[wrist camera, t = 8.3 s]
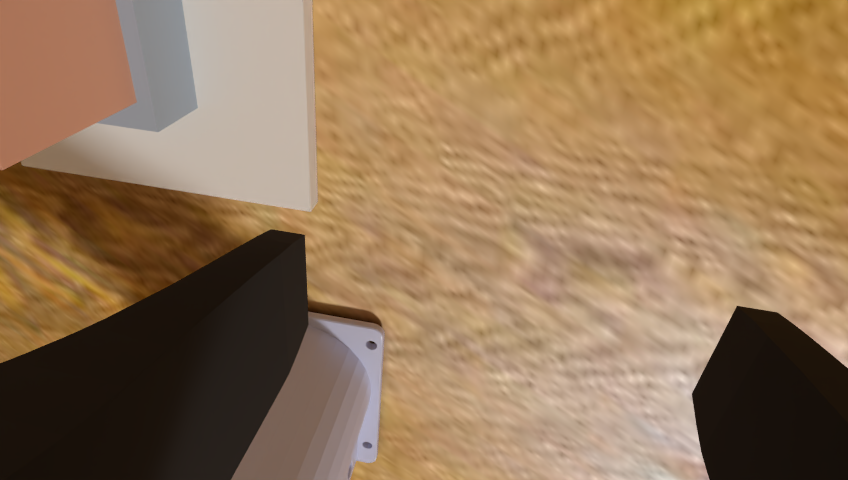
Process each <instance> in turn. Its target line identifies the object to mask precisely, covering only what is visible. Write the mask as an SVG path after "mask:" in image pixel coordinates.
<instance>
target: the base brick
mask: <svg viewBox="0 0 848 480" xmlns="http://www.w3.org/2000/svg"><path fill="white" fill-rule="evenodd" d="M115 1H116V6H117V10H118V15H119V20H120V25H121V29H122V34H123V39H124V44H125V48H126V53H127V58H128V62H129V67H130V72H131V77H132V81H133V86H134V91H135V96H136V100H137V103H135V104H133V105H131V106H129V107H127V108H125V109H123V110H121V111H119V112H117V113H115V114H113V115H111V116H109V117H107V118H105V119H103V120H101V121H99V122H97V123H99V124H106V125H113V126H119V127H126V128H133V129H140V130H146V131H153V132H160V131H161V130H163V129H164V128H166V127H168V126H169V125H171V124H173V123H174V122H176V121H177V120H179V119H181V118H182V117H184V116H186V115H187V114H189V113H190V112H192V111H194V110H195V109H197V108H198V105H197V99H196V92H195V85H194V78H193V72H192V65H191V58H190V52H189V45H188V38H187V31H186V25H185V18H184V11H183V5H182V0H115Z"/></svg>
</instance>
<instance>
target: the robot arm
mask: <svg viewBox="0 0 848 480" xmlns="http://www.w3.org/2000/svg"><path fill="white" fill-rule="evenodd" d="M384 335H385V333H384V330H383V328H382V327H381V326H379V325H378V324H375V323H370V322H364V321H359V320H353V319H347V318H342V317H336V316H330V315H325V314H319V313H314V312H308V299H307V277H306V254H305V235H302V234H296V233H290V232H284V231H278V230H272V229H271V230H269V231H267V232H265V233H263V234H261V235H259V236H257V237H255V238H253V239H252V240H250V241H248V242H246V243H245V244H243V245H241V246H239V247H238V248H236V249H234V250H232V251H231V252H229V253H227V254H225V255H224V256H222V257H220V258H218V259H217V260H215V261H213V262H211V263H210V264H208V265H206V266H204V267H202V268H201V269H199V270H197V271H195V272H194V273H192V274H190V275H188V276H186V277H185V278H183V279H181V280H179V281H178V282H176V283H174V284H172V285H170V286H168V287H167V288H165V289H163V290H161V291H159V292H157V293H155V294H153V295H151V296H149V297H147V298H145V299H143V300H141V301H139V302H137V303H135V304H133V305H131V306H129V307H127V308H125V309H123V310H121V311H119V312H118V313H116V314H114V315H112V316H110V317H108V318H106V319H104V320H101V321H99V322H97V323H95V324H93V325H91V326H89V327H86V328H84V329H82V330H80V331H78V332H75V333H73V334H71V335H69V336H66V337H64V338H62V339H59V340H57V341H54V342H52V343H50V344H47V345H45V346H42V347H40V348H38V349H35V350H33V351H31V352H28V353H26V354H23V355H21V356H18V357H16V358H13V359H11V360H8V361H5V362H3V363H0V480H350V479H351V475H352V472H353V469H354V466H355V463H356V461H361V462H366V463H372V462H374V461H375V460H376V458H377V454H378V439H379V422H380V405H381V387H382V370H383V352H384ZM369 341H373V342H375V343H376V344H373V343H370V342H369ZM692 397H693V404H694V411H695V418H696V425H697V430H698V436H699V441H700V447H701V452H702V456H703V459H704V463H705V466H706V469H707V473H708V476H709V479H710V480H848V368H847V367H845V366H844V365H843V364H842V363H841V362H839V361H838V360H837V359H836V358H835V357H833V356H832V355H831V354H830V353H829V352H827V351H826V350H825V349H824V348H823V347H821V346H820V345H819V344H818V343H816V342H815V341H814V340H813V339H812V338H810V337H809V336H808V335H807V334H805V333H804V332H803V331H802V330H800V329H799V328H798V327H796V326H795V325H794V324H792V323H791V322H790V321H788V320H787V319H786V318H784V317H783V316H781V315H780V314H779V313H777V312H771V311H765V310H759V309H752V308H746V307H740V306H737V307H736V309H735V311H734V313H733V315H732V317H731V319H730V321H729V323H728V325H727V327H726V329H725V331H724V333H723V334H722V336H721V338H720V340H719V342H718V344H717V346H716V348H715V350H714V352H713V354H712V356H711V358H710V360H709V362H708V364H707V366H706V368H705V369H704V371H703V373H702V375H701V377H700V379H699V381H698V383H697V385H696V387H695V389H694V391H693V393H692Z"/></svg>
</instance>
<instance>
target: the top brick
mask: <svg viewBox="0 0 848 480" xmlns="http://www.w3.org/2000/svg"><path fill="white" fill-rule="evenodd" d="M135 103H137V100H136V96H135V91H134V86H133V81H132V77H131V72H130V67H129V62H128V58H127V53H126V48H125V44H124V39H123V34H122V29H121V25H120V20H119V15H118V10H117V6H116V1H115V0H0V170H4V169H6V168H8V167H10V166H12V165H14V164H16V163H18V162H20V161H22V160H24V159H26V158H28V157H30V156H32V155H34V154H36V153H38V152H40V151H42V150H44V149H46V148H48V147H50V146H52V145H54V144H56V143H58V142H60V141H62V140H63V139H65V138H67V137H69V136H71V135H73V134H75V133H77V132H79V131H81V130H83V129H85V128H87V127H89V126H91V125H93V124H95V123H97V122H99V121H101V120H103V119H105V118H107V117H109V116H111V115H113V114H115V113H117V112H119V111H121V110H123V109H125V108H127V107H129V106H131V105H133V104H135Z"/></svg>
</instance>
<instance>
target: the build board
mask: <svg viewBox="0 0 848 480" xmlns="http://www.w3.org/2000/svg"><path fill="white" fill-rule="evenodd" d="M182 5H183V11H184V18H185V25H186V31H187V38H188V45H189V52H190V58H191V65H192V72H193V78H194V85H195V92H196V99H197V105H198V108H197V109H195V110H194V111H192V112H190V113H189V114H187V115H186V116H184V117H182V118H181V119H179V120H177V121H176V122H174V123H173V124H171V125H169V126H168V127H166V128H164V129H163V130H161V131H160V132H153V131H146V130H140V129H133V128H126V127H119V126H113V125H106V124H99V123H95V124H93V125H91V126H89V127H87V128H85V129H83V130H81V131H79V132H77V133H75V134H73V135H71V136H69V137H67V138H65V139H63V140H62V141H60V142H58V143H56V144H54V145H52V146H50V147H48V148H46V149H44V150H42V151H40V152H38V153H36V154H34V155H32V156H30V157H28V158H26V159H24V160H22V161H21V164H22V166H27V167H33V168H40V169H46V170H52V171H58V172H65V173H71V174H77V175H84V176H90V177H96V178H102V179H109V180H115V181H121V182H127V183H134V184H140V185H146V186H152V187H159V188H165V189H171V190H177V191H184V192H190V193H196V194H202V195H209V196H215V197H221V198H227V199H234V200H240V201H246V202H252V203H259V204H265V205H271V206H278V207H284V208H290V209H296V210H303V211H309V212H311V211H312V209H313V208H314V207H315V205H316V204H317V202H318V193H317V157H316V121H315V85H314V49H313V13H312V0H182Z"/></svg>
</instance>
